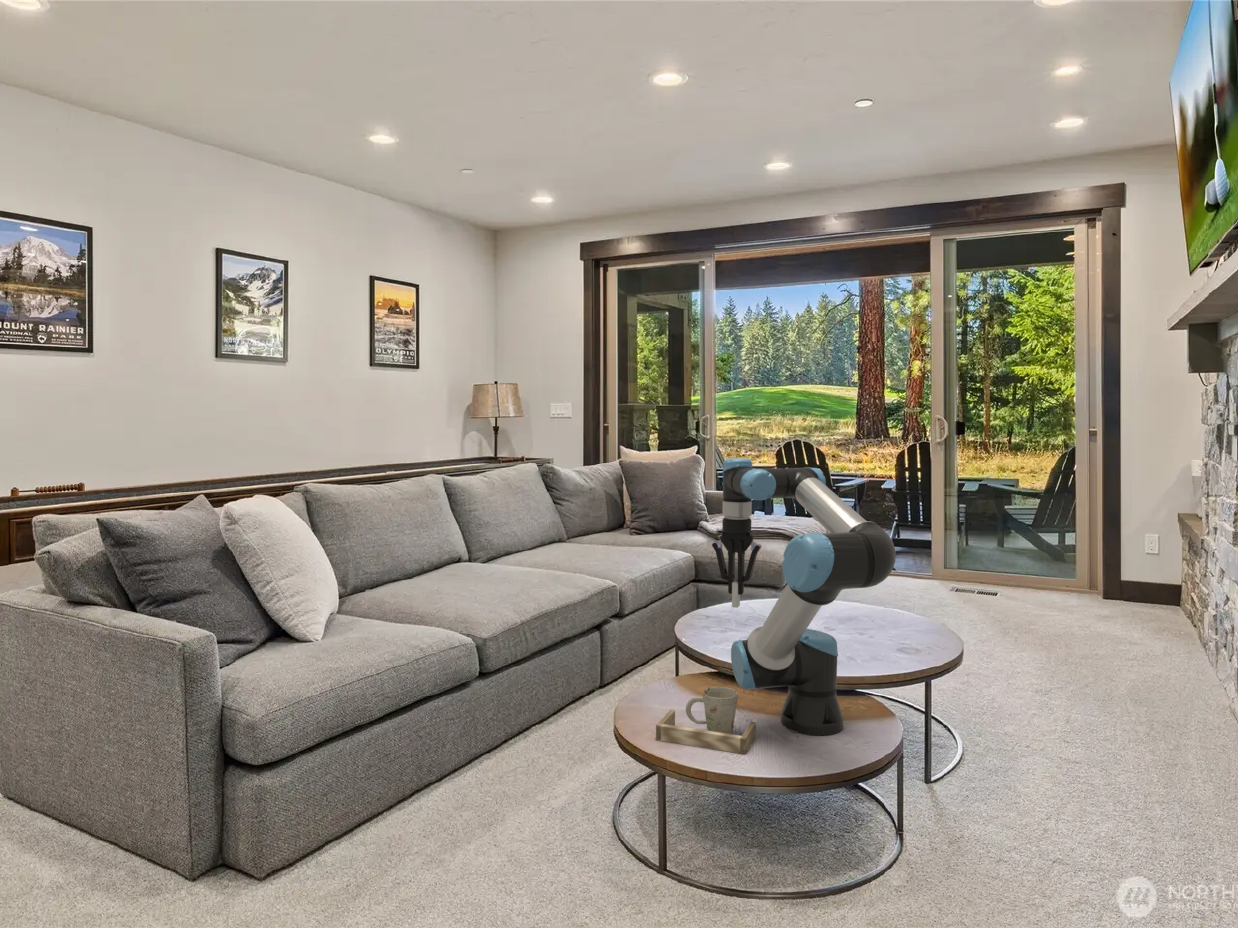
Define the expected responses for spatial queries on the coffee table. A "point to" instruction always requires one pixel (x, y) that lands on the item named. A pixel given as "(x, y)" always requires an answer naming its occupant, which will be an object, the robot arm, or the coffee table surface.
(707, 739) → the bay
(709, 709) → the mug
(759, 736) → the coffee table surface
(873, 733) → the coffee table surface
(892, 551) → the robot arm
